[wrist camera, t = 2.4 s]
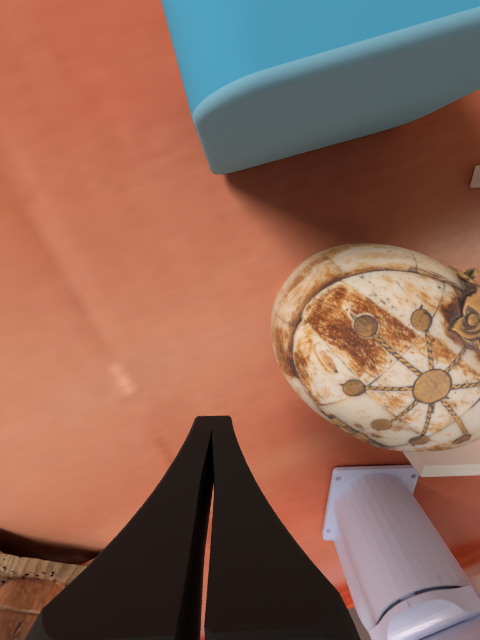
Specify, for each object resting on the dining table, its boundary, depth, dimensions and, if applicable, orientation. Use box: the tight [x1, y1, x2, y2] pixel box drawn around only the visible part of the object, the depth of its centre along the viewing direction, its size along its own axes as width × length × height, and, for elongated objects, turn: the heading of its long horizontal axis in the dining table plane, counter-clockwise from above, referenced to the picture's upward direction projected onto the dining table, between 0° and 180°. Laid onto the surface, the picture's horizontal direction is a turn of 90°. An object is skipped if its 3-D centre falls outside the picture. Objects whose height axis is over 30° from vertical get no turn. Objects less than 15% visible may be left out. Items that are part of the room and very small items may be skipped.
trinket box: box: [271, 243, 480, 452], centre depth 18 cm, size 13×15×8 cm
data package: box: [161, 0, 480, 174], centre depth 10 cm, size 12×4×12 cm, turn 104°
